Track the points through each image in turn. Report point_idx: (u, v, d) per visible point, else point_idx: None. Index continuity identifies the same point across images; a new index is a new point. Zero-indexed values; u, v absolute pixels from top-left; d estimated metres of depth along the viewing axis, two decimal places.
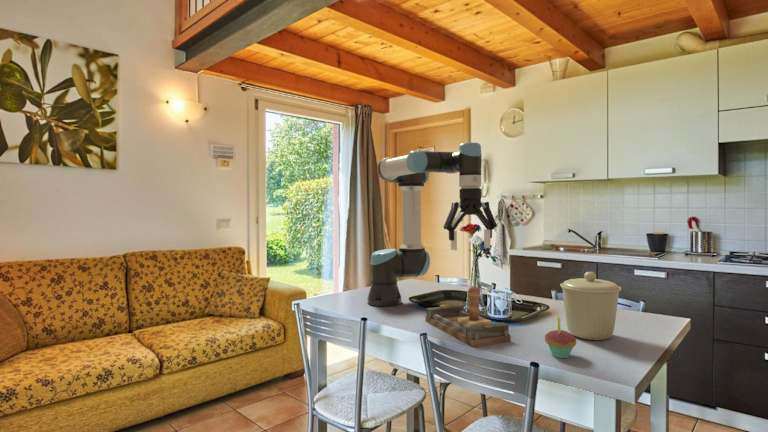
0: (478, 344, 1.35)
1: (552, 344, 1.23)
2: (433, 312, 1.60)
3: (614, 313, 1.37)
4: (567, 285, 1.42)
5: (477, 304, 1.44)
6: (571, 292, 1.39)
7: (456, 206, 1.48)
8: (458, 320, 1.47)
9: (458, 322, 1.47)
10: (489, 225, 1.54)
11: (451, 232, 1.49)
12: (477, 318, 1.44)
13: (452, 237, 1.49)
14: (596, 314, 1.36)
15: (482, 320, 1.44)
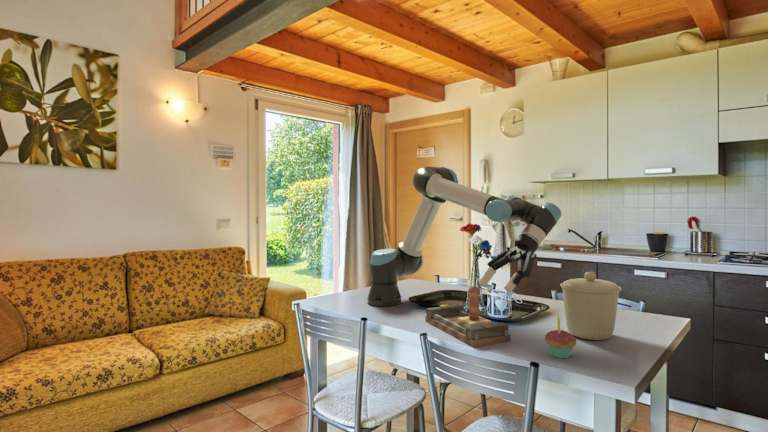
0: (478, 344, 1.35)
1: (552, 344, 1.23)
2: (433, 312, 1.60)
3: (614, 313, 1.37)
4: (567, 285, 1.42)
5: (477, 304, 1.44)
6: (571, 292, 1.39)
7: None
8: (458, 320, 1.47)
9: (458, 322, 1.47)
10: None
11: None
12: (477, 318, 1.44)
13: None
14: (596, 314, 1.36)
15: (482, 320, 1.44)
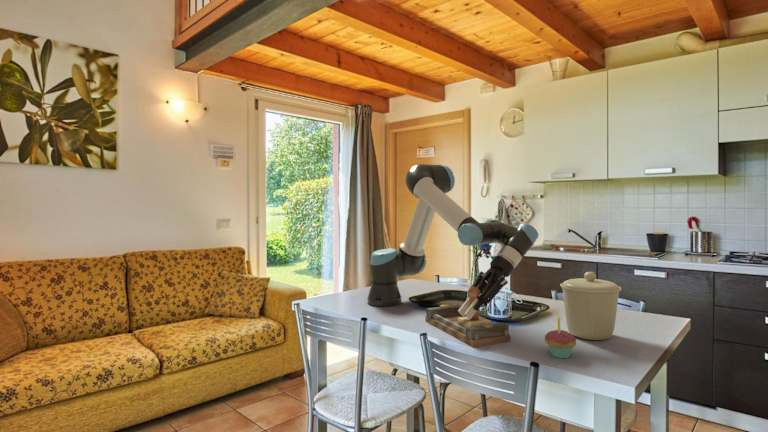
0: (478, 344, 1.35)
1: (552, 344, 1.23)
2: (433, 312, 1.60)
3: (614, 313, 1.37)
4: (567, 285, 1.42)
5: None
6: (571, 292, 1.39)
7: None
8: (458, 320, 1.47)
9: (458, 322, 1.47)
10: None
11: None
12: (477, 318, 1.44)
13: None
14: (596, 314, 1.36)
15: (482, 320, 1.44)
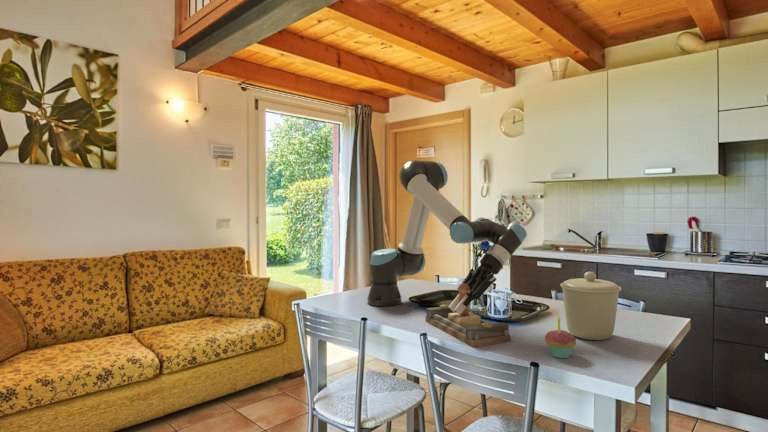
0: (478, 344, 1.35)
1: (552, 344, 1.23)
2: (433, 312, 1.60)
3: (614, 313, 1.37)
4: (567, 285, 1.42)
5: None
6: (571, 292, 1.39)
7: None
8: (449, 316, 1.53)
9: (449, 318, 1.53)
10: None
11: None
12: (467, 314, 1.50)
13: None
14: (596, 314, 1.36)
15: (472, 315, 1.50)
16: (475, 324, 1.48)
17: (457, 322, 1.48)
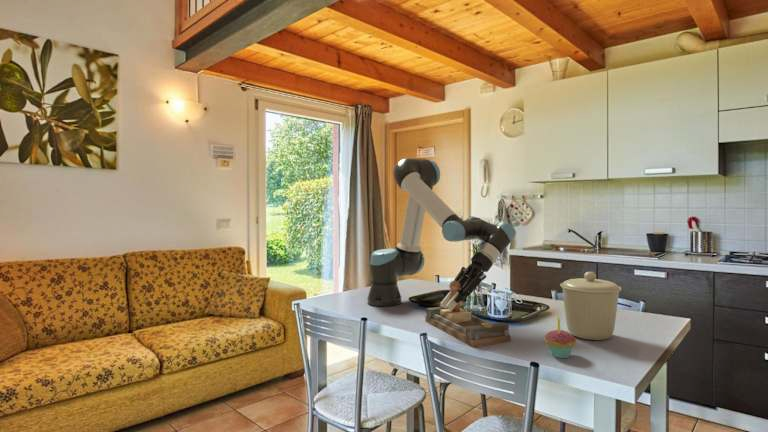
0: (478, 344, 1.35)
1: (552, 344, 1.23)
2: (433, 312, 1.60)
3: (614, 313, 1.37)
4: (567, 285, 1.42)
5: None
6: (571, 292, 1.39)
7: None
8: (441, 312, 1.58)
9: (441, 314, 1.58)
10: None
11: None
12: (458, 310, 1.55)
13: None
14: (596, 314, 1.36)
15: (463, 312, 1.55)
16: (466, 320, 1.54)
17: (448, 318, 1.53)
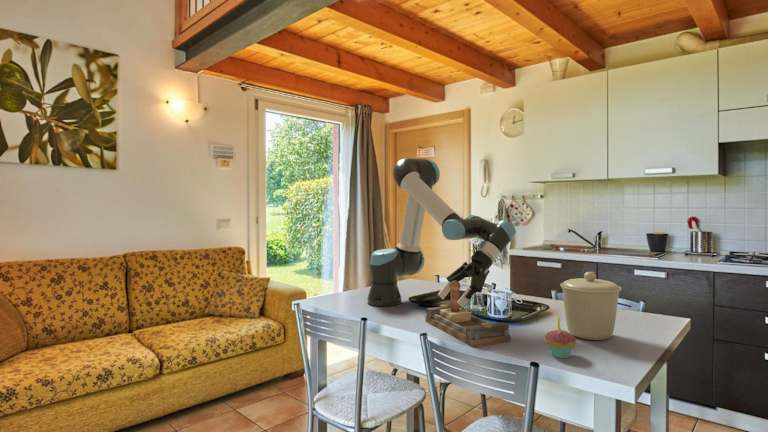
0: (478, 344, 1.35)
1: (552, 344, 1.23)
2: (433, 312, 1.60)
3: (614, 313, 1.37)
4: (567, 285, 1.42)
5: (458, 297, 1.55)
6: (571, 292, 1.39)
7: None
8: (440, 312, 1.59)
9: (440, 313, 1.59)
10: None
11: None
12: (458, 310, 1.56)
13: None
14: (596, 314, 1.36)
15: (462, 311, 1.55)
16: (465, 320, 1.54)
17: (448, 318, 1.53)
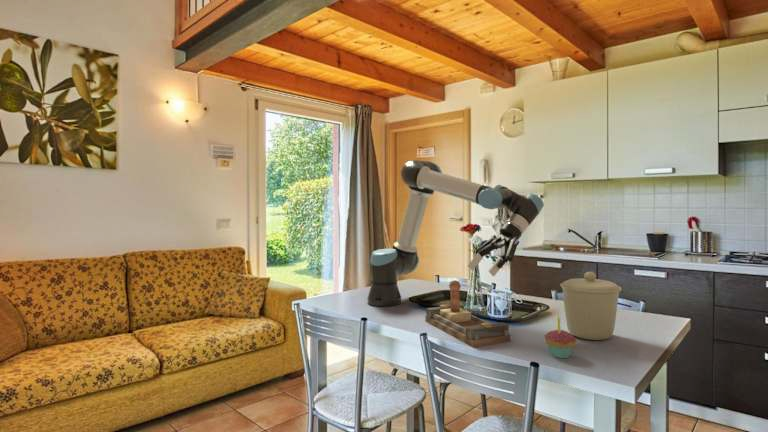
0: (478, 344, 1.35)
1: (552, 344, 1.23)
2: (433, 312, 1.60)
3: (614, 313, 1.37)
4: (567, 285, 1.42)
5: (458, 297, 1.55)
6: (571, 292, 1.39)
7: None
8: (440, 312, 1.59)
9: (440, 313, 1.59)
10: None
11: None
12: (458, 310, 1.56)
13: None
14: (596, 314, 1.36)
15: (462, 311, 1.55)
16: (465, 320, 1.54)
17: (448, 318, 1.53)
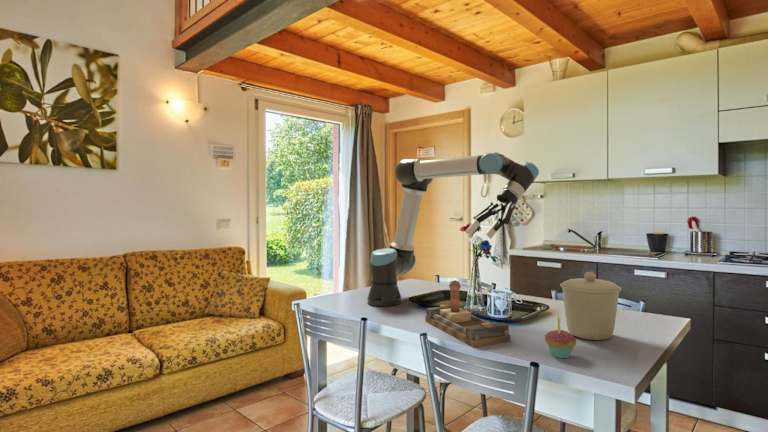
0: (478, 344, 1.35)
1: (552, 344, 1.23)
2: (433, 312, 1.60)
3: (614, 313, 1.37)
4: (567, 285, 1.42)
5: (458, 297, 1.55)
6: (571, 292, 1.39)
7: None
8: (440, 312, 1.59)
9: (440, 313, 1.59)
10: None
11: None
12: (458, 310, 1.56)
13: None
14: (596, 314, 1.36)
15: (462, 311, 1.55)
16: (465, 320, 1.54)
17: (448, 318, 1.53)
